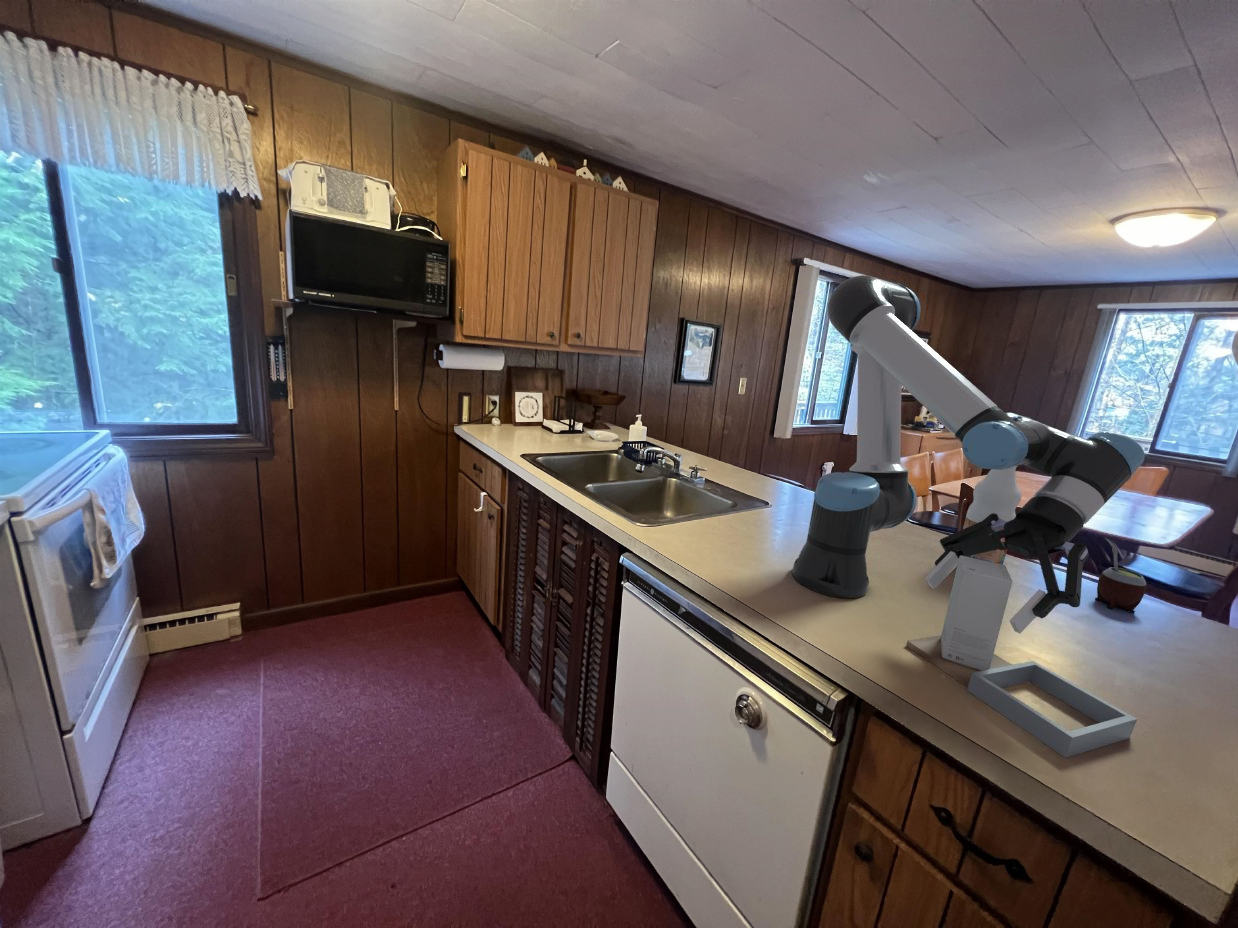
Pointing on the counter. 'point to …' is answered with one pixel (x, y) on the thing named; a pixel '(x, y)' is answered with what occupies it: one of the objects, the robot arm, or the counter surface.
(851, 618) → the counter surface
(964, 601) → the skincare box
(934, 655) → the coaster
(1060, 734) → the bin
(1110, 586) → the mate gourd
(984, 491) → the fruit juice
